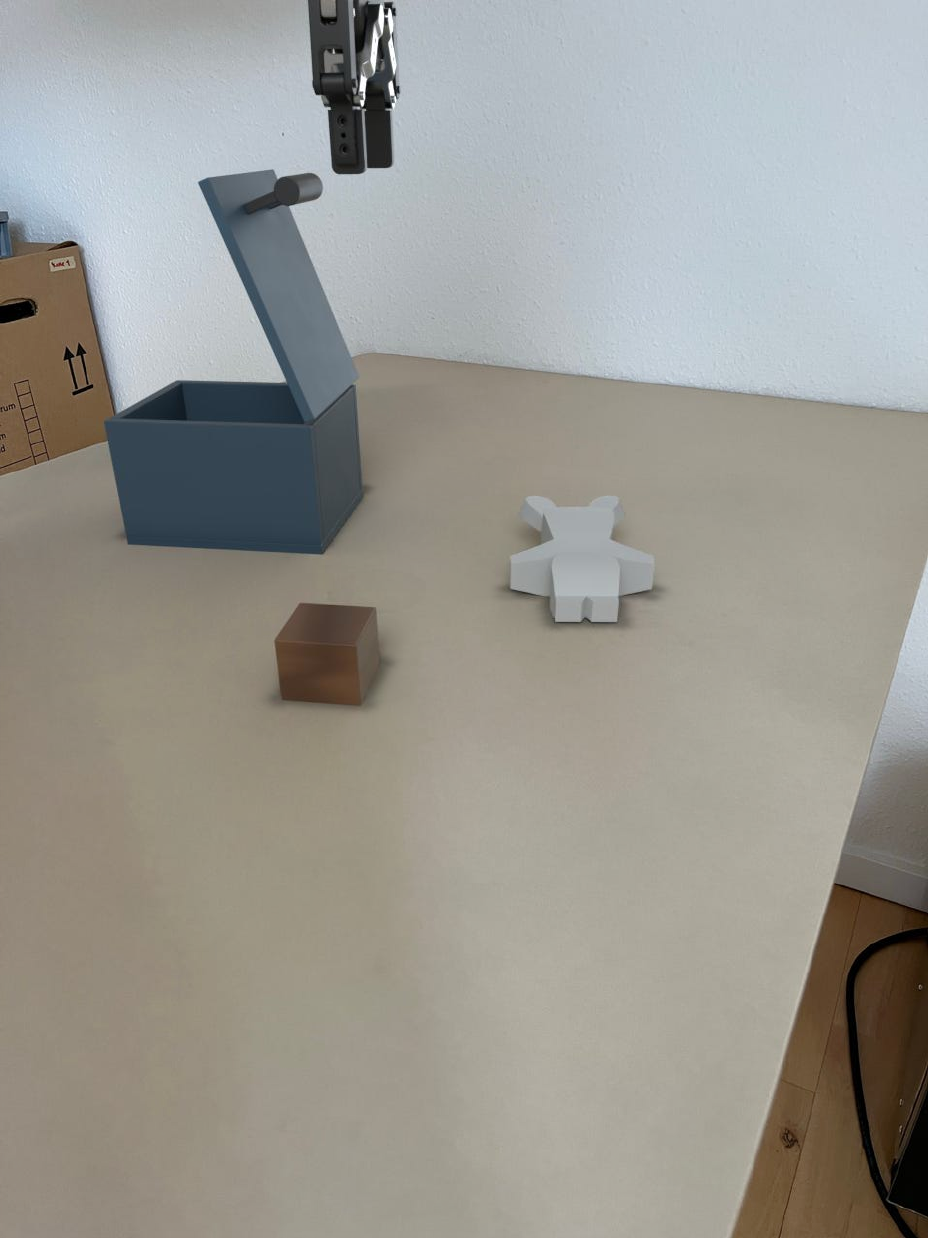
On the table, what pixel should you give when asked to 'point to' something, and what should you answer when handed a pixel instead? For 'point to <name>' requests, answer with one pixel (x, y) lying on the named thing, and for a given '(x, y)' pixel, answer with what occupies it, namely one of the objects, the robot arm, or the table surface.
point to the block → (328, 654)
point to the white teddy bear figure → (579, 560)
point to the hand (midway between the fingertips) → (365, 170)
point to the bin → (235, 468)
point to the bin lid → (283, 280)
